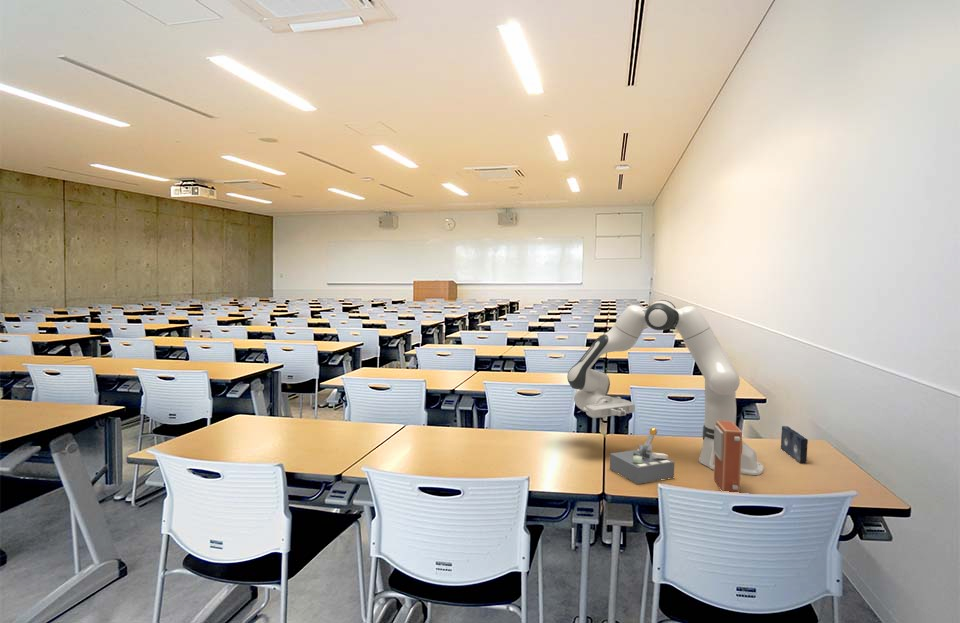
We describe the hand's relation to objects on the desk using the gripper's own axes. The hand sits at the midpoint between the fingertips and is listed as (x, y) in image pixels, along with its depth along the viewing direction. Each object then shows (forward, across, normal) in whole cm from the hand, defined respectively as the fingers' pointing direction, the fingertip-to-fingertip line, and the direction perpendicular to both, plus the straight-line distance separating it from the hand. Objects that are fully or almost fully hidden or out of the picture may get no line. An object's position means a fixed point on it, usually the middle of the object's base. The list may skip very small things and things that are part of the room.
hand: (622, 413), depth 205 cm
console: (+12, -1, +20) cm, 23 cm away
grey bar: (+8, +5, +13) cm, 16 cm away
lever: (+12, -1, +13) cm, 18 cm away
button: (+16, -6, +13) cm, 21 cm away
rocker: (+16, +4, +12) cm, 20 cm away
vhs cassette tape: (+18, +70, +22) cm, 75 cm away
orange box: (+32, +18, +21) cm, 42 cm away
